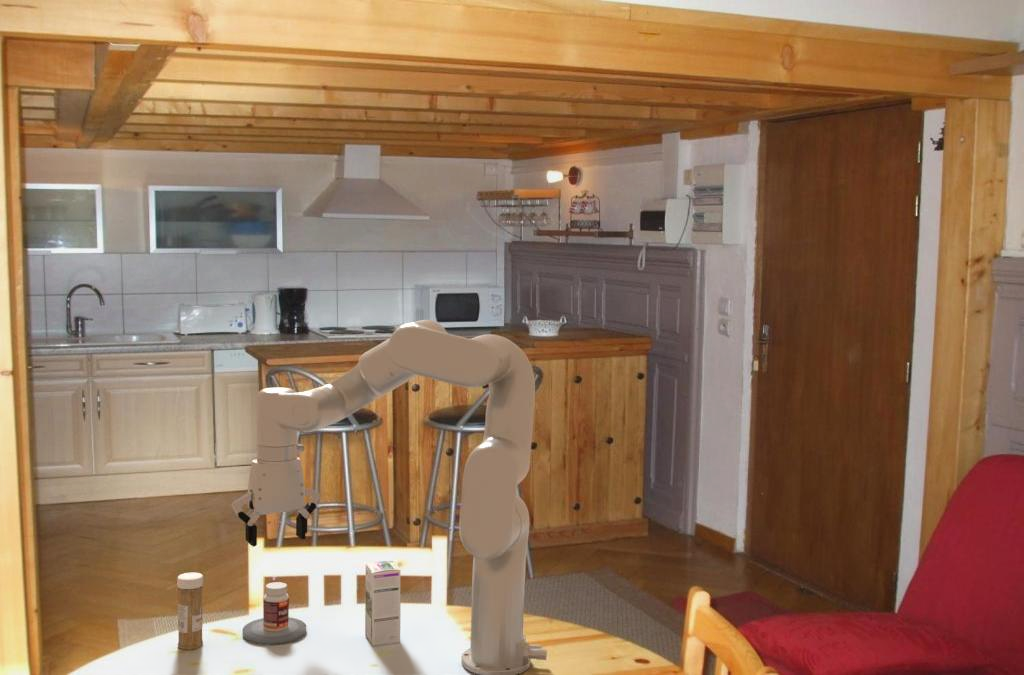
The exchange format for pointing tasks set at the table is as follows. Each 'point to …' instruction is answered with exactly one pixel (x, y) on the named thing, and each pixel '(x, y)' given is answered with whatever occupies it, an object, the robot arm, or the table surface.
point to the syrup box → (382, 603)
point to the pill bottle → (276, 607)
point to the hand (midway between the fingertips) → (276, 541)
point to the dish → (274, 633)
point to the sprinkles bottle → (190, 610)
